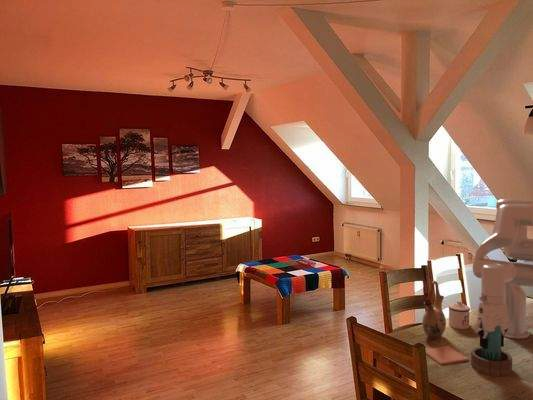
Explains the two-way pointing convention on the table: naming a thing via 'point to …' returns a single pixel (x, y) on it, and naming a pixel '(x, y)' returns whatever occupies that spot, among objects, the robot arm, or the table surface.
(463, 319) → the teacup with lid
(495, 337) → the beverage bottle
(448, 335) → the table surface
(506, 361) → the walnut collar
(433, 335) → the ceramic vessel
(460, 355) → the terracotta tile
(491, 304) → the robot arm
